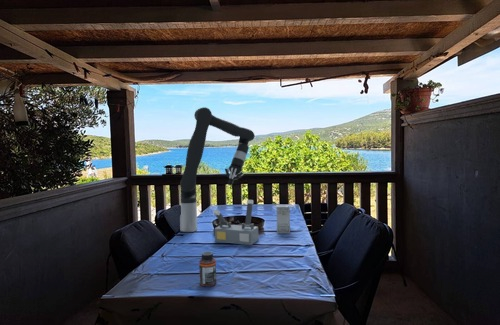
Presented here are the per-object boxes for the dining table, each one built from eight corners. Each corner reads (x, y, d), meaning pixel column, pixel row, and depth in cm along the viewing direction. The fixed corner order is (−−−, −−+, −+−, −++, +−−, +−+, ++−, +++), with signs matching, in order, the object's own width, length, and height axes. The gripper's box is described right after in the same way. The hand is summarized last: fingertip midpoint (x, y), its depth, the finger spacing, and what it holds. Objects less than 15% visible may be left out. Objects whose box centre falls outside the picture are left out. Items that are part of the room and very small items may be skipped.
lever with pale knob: (222, 225, 171) (212, 213, 160) (223, 222, 172) (213, 209, 161) (228, 226, 169) (218, 213, 159) (229, 223, 170) (219, 210, 160)
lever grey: (243, 226, 165) (246, 199, 169) (245, 227, 166) (248, 200, 170) (249, 227, 163) (252, 199, 167) (251, 227, 165) (253, 200, 169)
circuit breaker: (289, 226, 195) (289, 202, 194) (290, 232, 181) (289, 206, 180) (277, 226, 196) (276, 202, 195) (277, 232, 182) (276, 207, 181)
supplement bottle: (200, 280, 117) (199, 250, 116) (216, 280, 117) (215, 250, 117) (199, 287, 111) (198, 256, 110) (216, 286, 111) (215, 255, 111)
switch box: (214, 241, 167) (214, 223, 167) (223, 236, 176) (222, 219, 176) (251, 245, 159) (251, 226, 159) (258, 239, 169) (258, 222, 168)
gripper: (227, 155, 197) (217, 180, 193) (246, 159, 192) (237, 185, 188) (231, 159, 204) (222, 184, 199) (250, 163, 199) (241, 189, 194)
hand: (229, 184), depth 193 cm, fingers closed
